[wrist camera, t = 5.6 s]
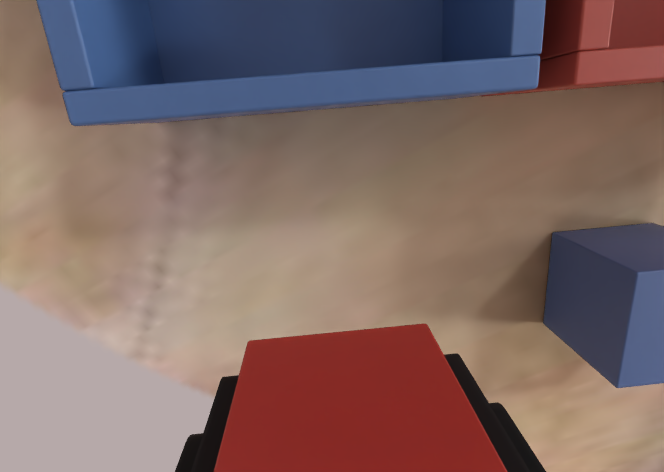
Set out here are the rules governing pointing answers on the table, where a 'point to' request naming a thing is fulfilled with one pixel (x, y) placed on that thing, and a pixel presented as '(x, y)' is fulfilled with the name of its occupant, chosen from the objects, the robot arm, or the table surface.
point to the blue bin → (283, 54)
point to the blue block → (610, 299)
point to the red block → (352, 407)
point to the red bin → (600, 44)
